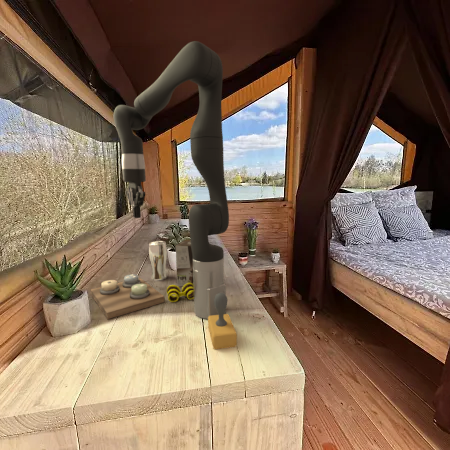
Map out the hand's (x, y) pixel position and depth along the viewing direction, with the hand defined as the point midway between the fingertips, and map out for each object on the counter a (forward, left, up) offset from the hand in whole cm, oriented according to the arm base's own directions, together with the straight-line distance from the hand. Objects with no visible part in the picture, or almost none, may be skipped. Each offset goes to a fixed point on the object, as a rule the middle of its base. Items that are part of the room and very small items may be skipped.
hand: (137, 217), depth 97 cm
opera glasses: (-16, -8, -27) cm, 33 cm away
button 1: (+1, +11, -24) cm, 26 cm away
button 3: (+2, +3, -24) cm, 24 cm away
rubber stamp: (-43, -5, -27) cm, 51 cm away
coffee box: (-5, -17, -27) cm, 32 cm away
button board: (-4, +7, -27) cm, 28 cm away
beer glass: (+7, -10, -27) cm, 30 cm away
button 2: (-9, +4, -24) cm, 26 cm away
